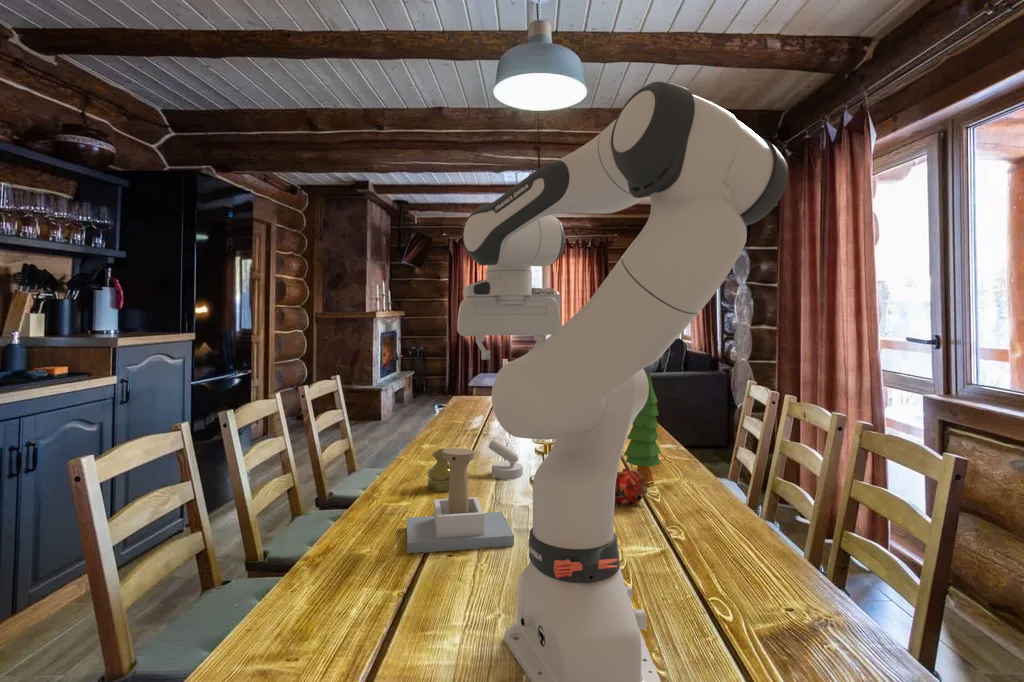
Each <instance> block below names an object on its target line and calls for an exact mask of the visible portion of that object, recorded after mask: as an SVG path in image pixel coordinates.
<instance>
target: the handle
mask: <svg viewBox="0 0 1024 682" xmlns="http://www.w3.org/2000/svg"><path fill="white" fill-rule="evenodd" d="M444 449H445V450H443V451H442V457H443V459H445V460H447V462H448V463H449V465H450V481H449V491H448V498H447V499H448V506H449V514H461V513H468V497H469V486H468V485H469V483H468V463H470V462H471V461H473V460H474V459H475V455H476V451H475V450H474V449H469V448H459V447H458V448H457V447H455V448H453V447H452V448H444Z"/></svg>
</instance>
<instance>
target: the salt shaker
mask: <svg viewBox="0 0 1024 682" xmlns="http://www.w3.org/2000/svg"><path fill="white" fill-rule="evenodd" d="M445 449H446V448H439V449H437V450H434V451H433V452H431V453H432V455H431V456H432V457H433V458H434V459H435V460H436V463H435V464H434V465H433V466H432V467H430V468H429V469H428V470H427V473H426V474H427V477H428V478H427V480H426V481H427V489H428V490H429V491H432V492H435V491H437V493H446V492H445V491H447V492H449V481H450V463H449V462H448V461H447V460H445V459H443V457H442V451H443V450H445Z"/></svg>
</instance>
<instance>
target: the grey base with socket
mask: <svg viewBox="0 0 1024 682" xmlns="http://www.w3.org/2000/svg"><path fill="white" fill-rule="evenodd" d="M406 540H407V541H406V545H407V547H406V549H407V550H406V551H407V553H413V554H420V553H419V552H423V553H436V552H435V551H439V552H451V551H462V550H463V551H464V550H477V549H478V550H479V549H487V548H486V547H492V548H502V546H505V547H514V546H515V535H514V532H513V531H512V529H511V526H510V525H509V523H508V521H507V519H506V516H505V515H504V513H503V511H491V512H489V511H488V512H484V509H483V506H482V504H481V502H480V499H479V497H478V496H471V497H470V496H468V513H461V514H449V506H448V498H438V499H436V498H435V499H433V515H432V516H431V515H430V516H429V515H428V516H415V517H413V516H412V517H406ZM449 550H451V551H449ZM423 553H422V554H423Z"/></svg>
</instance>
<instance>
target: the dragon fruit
mask: <svg viewBox="0 0 1024 682" xmlns="http://www.w3.org/2000/svg"><path fill="white" fill-rule="evenodd" d="M645 486H646V484H645V478H644V477H643V476H642V475H640V474H639V473H638V471H637V469H632V470H629V469H628V468H623V469H622V472H621V471H618V472H617V477H616V485H615V504H616V506H624V505H629V504H630V503H631V504H632V503H633V504H635V505H637V504H638V503H639V502H640V501H641V500H642V499H643V498H644V496H645V495H646V494H647V493H648V491H647V490H646V489H645ZM623 504H624V505H623ZM633 504H632V505H633Z"/></svg>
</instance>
